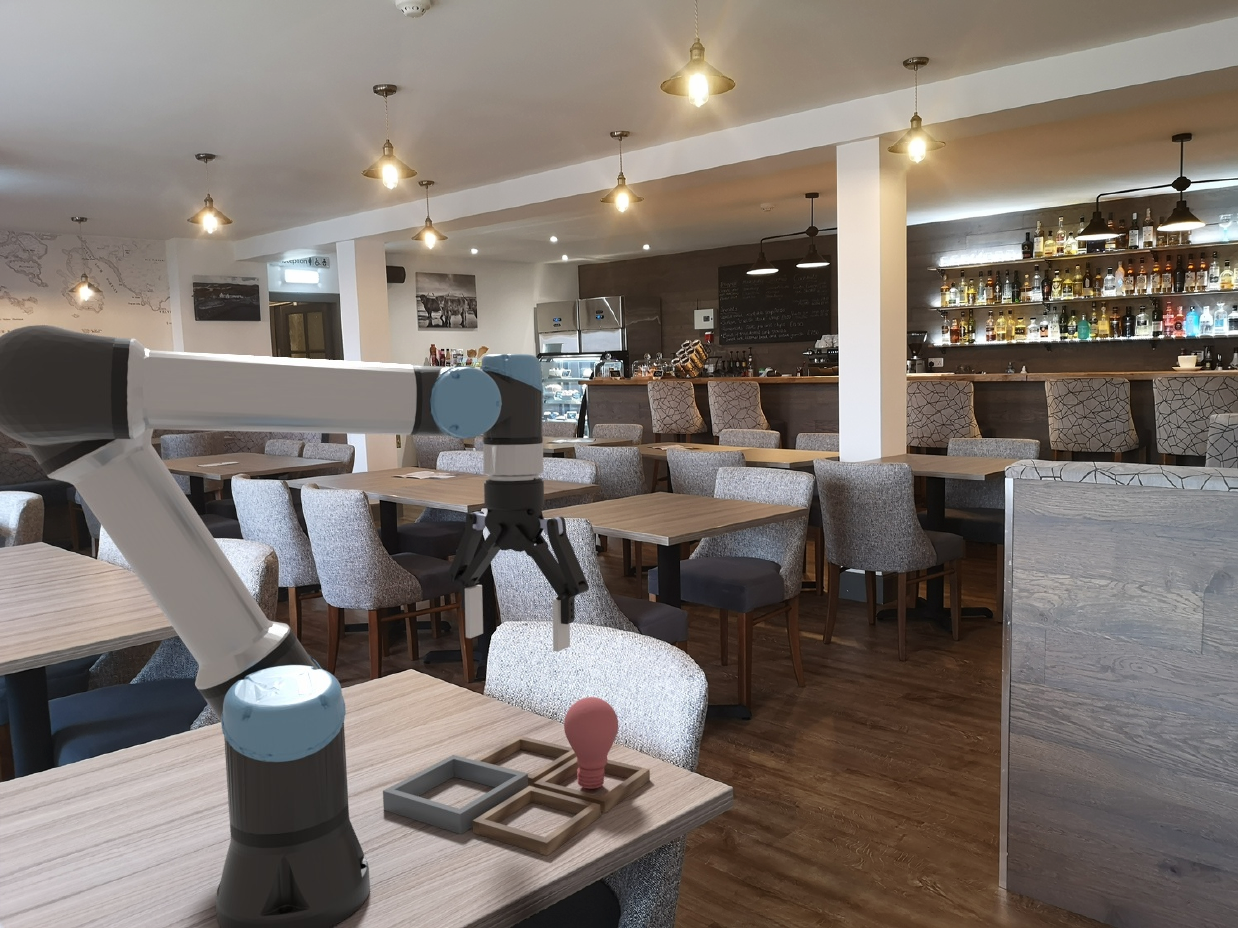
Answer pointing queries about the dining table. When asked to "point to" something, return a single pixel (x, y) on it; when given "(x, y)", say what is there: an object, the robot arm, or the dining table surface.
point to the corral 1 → (457, 820)
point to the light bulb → (591, 738)
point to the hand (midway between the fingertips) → (516, 642)
